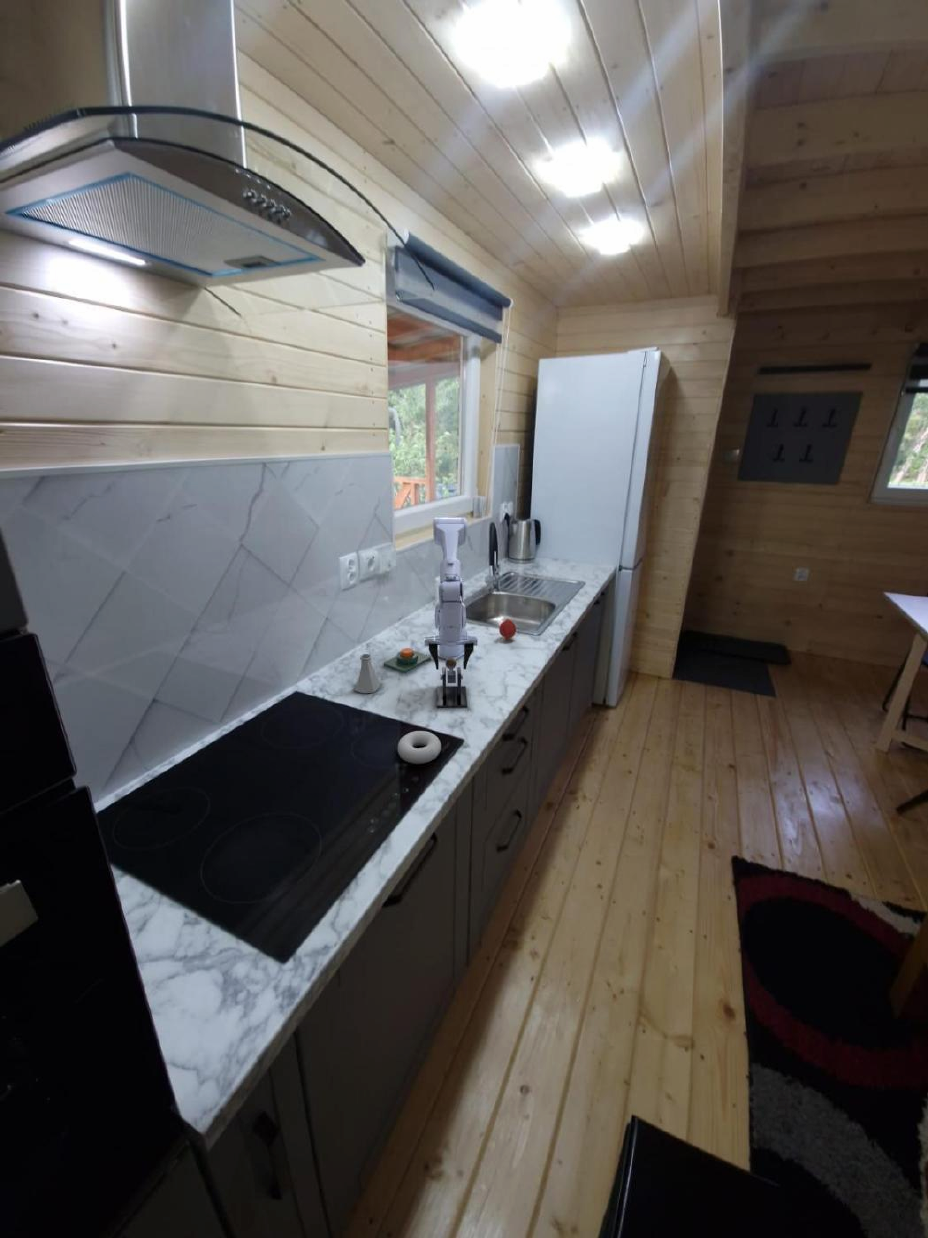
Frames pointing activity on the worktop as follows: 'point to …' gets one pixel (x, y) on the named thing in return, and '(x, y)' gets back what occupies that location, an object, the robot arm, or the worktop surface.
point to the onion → (507, 629)
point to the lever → (451, 670)
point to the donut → (419, 754)
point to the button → (406, 652)
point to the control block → (406, 662)
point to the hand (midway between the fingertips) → (451, 667)
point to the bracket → (451, 692)
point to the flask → (367, 676)
